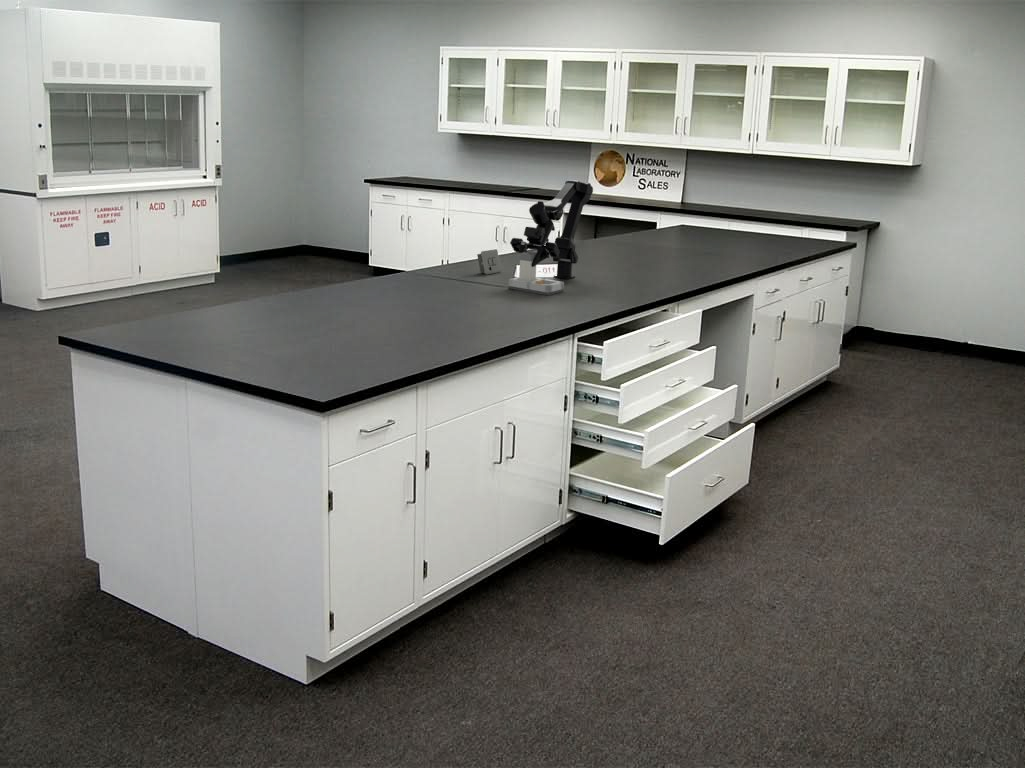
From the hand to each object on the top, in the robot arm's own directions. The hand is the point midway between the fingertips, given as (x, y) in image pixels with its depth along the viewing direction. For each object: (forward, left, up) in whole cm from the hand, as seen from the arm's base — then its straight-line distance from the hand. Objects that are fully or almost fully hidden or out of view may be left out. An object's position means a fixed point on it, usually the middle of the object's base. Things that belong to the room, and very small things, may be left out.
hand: (526, 265), depth 373 cm
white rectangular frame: (-1, +4, -9) cm, 10 cm away
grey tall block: (-1, 0, -7) cm, 7 cm away
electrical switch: (-17, -29, -9) cm, 35 cm away
